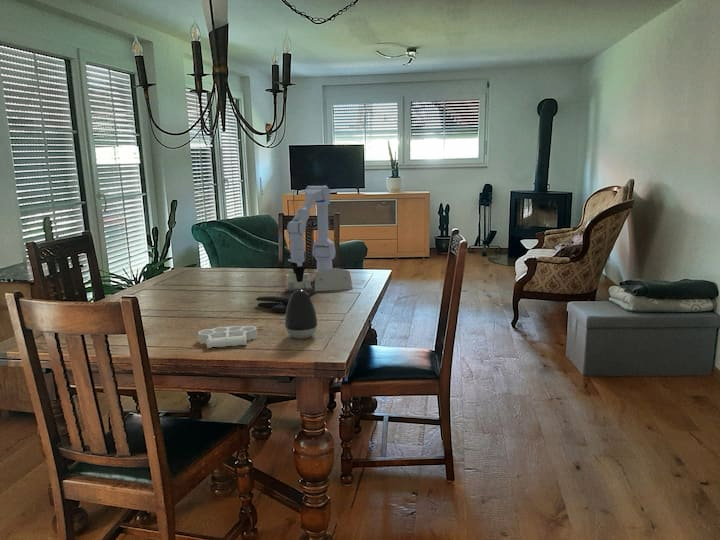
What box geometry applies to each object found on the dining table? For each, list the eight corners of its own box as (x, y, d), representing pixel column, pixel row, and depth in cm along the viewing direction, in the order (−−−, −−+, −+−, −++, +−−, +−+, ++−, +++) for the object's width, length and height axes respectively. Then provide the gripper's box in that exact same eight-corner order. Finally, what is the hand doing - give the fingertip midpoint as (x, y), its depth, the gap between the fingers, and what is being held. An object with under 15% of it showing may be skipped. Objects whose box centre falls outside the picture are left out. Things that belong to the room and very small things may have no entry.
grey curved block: (314, 291, 234) (313, 268, 235) (314, 292, 238) (313, 269, 240) (353, 289, 235) (351, 266, 237) (352, 290, 240) (350, 268, 242)
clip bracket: (285, 289, 239) (285, 280, 238) (310, 287, 241) (310, 278, 241) (287, 292, 232) (286, 283, 231) (312, 290, 235) (312, 281, 234)
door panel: (287, 287, 237) (286, 274, 235) (309, 286, 239) (309, 272, 238) (287, 289, 234) (286, 275, 233) (310, 287, 236) (310, 274, 235)
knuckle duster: (196, 352, 162) (200, 337, 176) (257, 346, 166) (256, 332, 180) (195, 341, 161) (199, 327, 176) (257, 336, 165) (256, 322, 179)
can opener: (296, 310, 204) (295, 296, 203) (282, 315, 199) (281, 300, 198) (265, 304, 216) (264, 290, 215) (251, 307, 210) (250, 293, 209)
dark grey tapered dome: (322, 338, 170) (320, 291, 167) (289, 343, 167) (287, 295, 164) (313, 329, 179) (311, 284, 177) (282, 333, 176) (280, 288, 173)
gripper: (286, 247, 239) (287, 277, 242) (289, 252, 225) (291, 284, 228) (302, 246, 241) (303, 276, 243) (306, 251, 227) (308, 282, 230)
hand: (298, 280), depth 236 cm, fingers open, 7 cm apart
